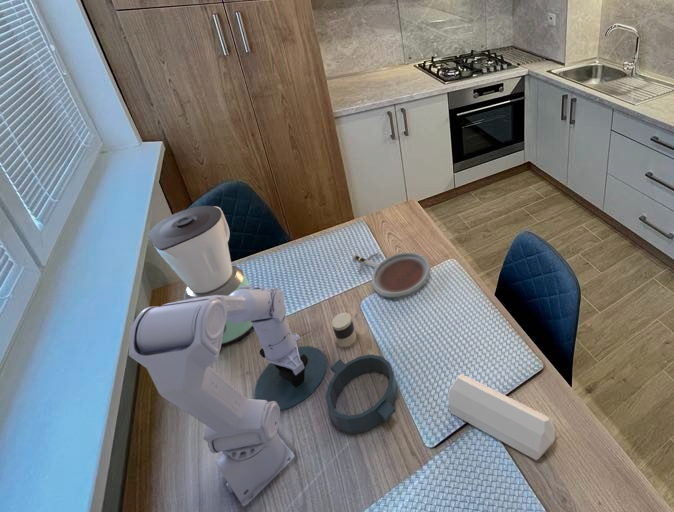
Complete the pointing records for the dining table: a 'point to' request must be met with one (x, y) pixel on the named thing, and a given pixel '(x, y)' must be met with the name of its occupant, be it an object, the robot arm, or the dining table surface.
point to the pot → (344, 376)
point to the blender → (201, 257)
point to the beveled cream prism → (501, 417)
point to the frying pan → (398, 274)
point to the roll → (344, 329)
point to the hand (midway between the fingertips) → (291, 374)
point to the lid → (281, 389)
